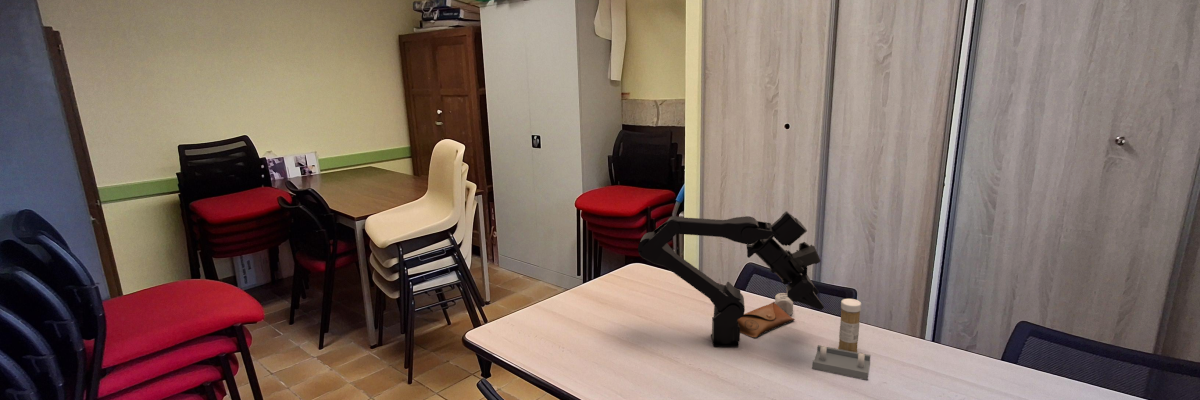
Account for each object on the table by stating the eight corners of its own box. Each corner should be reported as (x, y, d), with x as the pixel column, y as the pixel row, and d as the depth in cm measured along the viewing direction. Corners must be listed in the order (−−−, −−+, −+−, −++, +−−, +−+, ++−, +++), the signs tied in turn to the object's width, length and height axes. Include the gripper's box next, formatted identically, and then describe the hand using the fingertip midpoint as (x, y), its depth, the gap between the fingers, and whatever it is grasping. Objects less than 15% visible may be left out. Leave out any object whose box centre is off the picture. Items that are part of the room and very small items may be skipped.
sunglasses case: (756, 338, 149) (746, 313, 151) (738, 342, 155) (729, 318, 156) (797, 319, 160) (787, 296, 161) (778, 323, 165) (769, 301, 167)
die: (774, 314, 164) (775, 299, 163) (775, 307, 169) (775, 292, 168) (792, 316, 163) (793, 301, 161) (792, 309, 167) (793, 293, 166)
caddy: (812, 368, 135) (812, 354, 134) (817, 351, 143) (818, 337, 142) (867, 380, 129) (868, 365, 128) (869, 361, 137) (871, 347, 136)
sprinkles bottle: (848, 345, 145) (851, 296, 142) (861, 353, 141) (865, 303, 138) (833, 348, 144) (837, 299, 141) (847, 357, 139) (850, 306, 136)
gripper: (805, 247, 130) (853, 295, 130) (796, 226, 147) (839, 267, 147) (768, 278, 133) (815, 324, 133) (764, 253, 151) (805, 294, 151)
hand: (819, 301), depth 141 cm, fingers open, 9 cm apart
